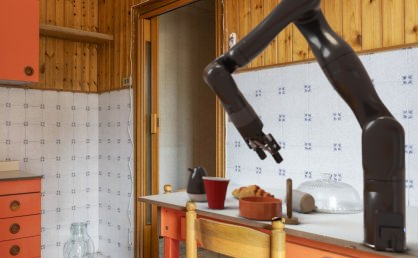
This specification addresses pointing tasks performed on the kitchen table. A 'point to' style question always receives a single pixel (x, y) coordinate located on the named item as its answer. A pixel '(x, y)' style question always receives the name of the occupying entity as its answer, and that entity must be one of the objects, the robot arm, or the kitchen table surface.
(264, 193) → the croissant
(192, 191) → the pump dispenser
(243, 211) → the bowl
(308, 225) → the kitchen table surface
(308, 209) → the ceramic mug
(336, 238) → the kitchen table surface
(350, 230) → the kitchen table surface
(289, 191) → the wooden peg stand
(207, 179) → the plastic cup
